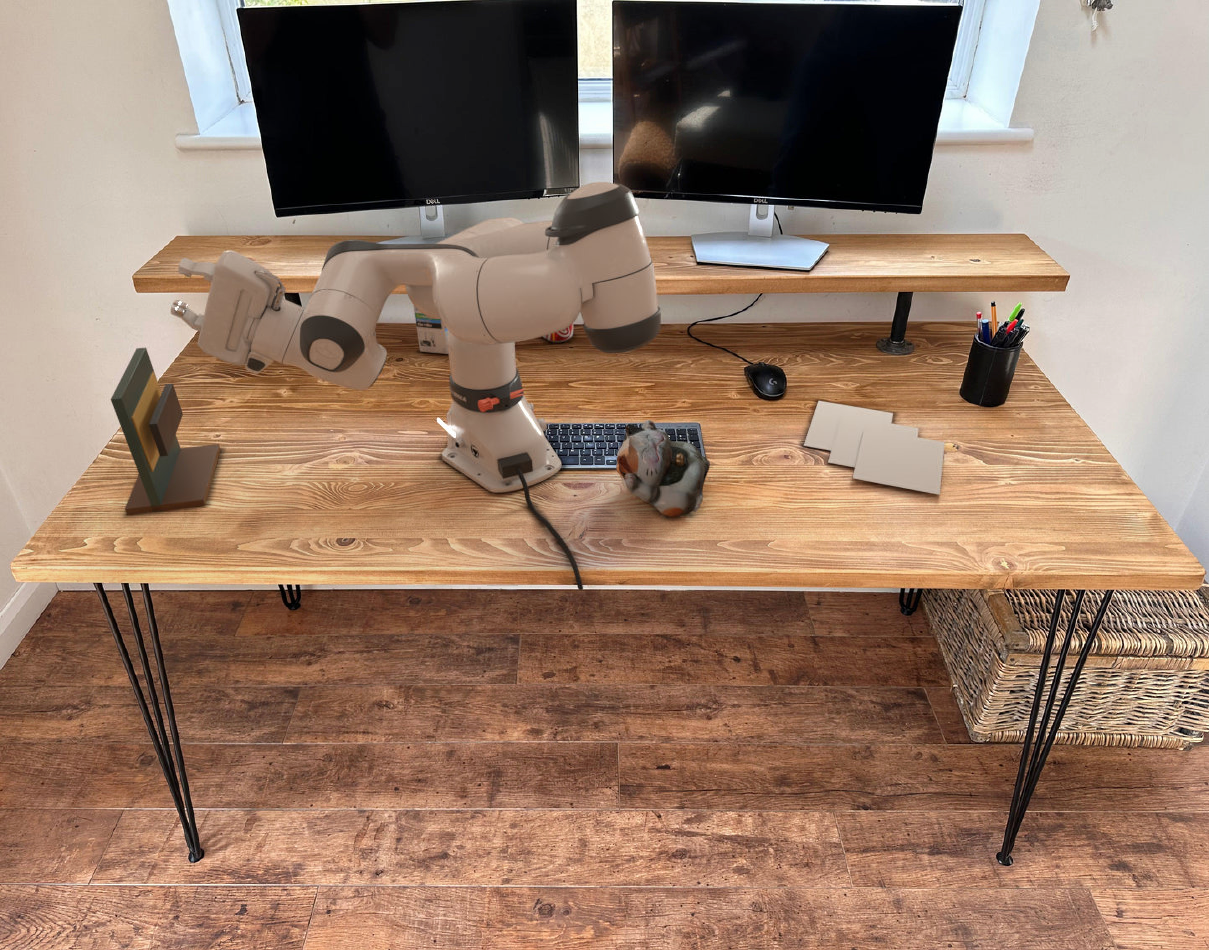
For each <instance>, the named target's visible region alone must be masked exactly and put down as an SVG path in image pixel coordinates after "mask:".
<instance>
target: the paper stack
mask: <svg viewBox="0 0 1209 950" xmlns="http://www.w3.org/2000/svg"><path fill="white" fill-rule="evenodd" d="M893 416H894V413H893V412H890V411H889V412H888V411H882V410H876V409H870V408H864V407H860V406H854V405H853V406H852V405H847V404H841V403H836V402H835V403H834V402H828V401H823V400H818V401H817V404H816V407H815V410H814V413H813V416H812V419H811V422H810V425H809V428H808V431H807V434H806V437H805V440H804V442H803V443H804V444H803V446H804V447H809V448H815V449H820V450H826V451H830V454H829V457H828V461H827V463H829V464H834V465H840V466H845V467H851V468H854V470H853V474H852V479H855V480H859V481H865V482H871V483H876V484H881V485H886V486H892V487H897V488H903V489H908V490H913V491H917V492H923V493H929V494H932V495H933V494H934V495H939V496H940V495H941V487H942V474H943V464H944V456H945V455H944V454H945V444H946V443H945V441H941V440H935V439H930V438H924V437H919V430H920V428H919V427H914V426H909V425H902V424H897V423H893Z"/></svg>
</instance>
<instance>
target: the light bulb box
mask: <svg viewBox="0 0 1209 950" xmlns="http://www.w3.org/2000/svg"><path fill="white" fill-rule="evenodd" d="M412 305H413V304H412ZM413 312H414V318H415V325H416V333H417V339H418V346H419V347H418V348H419V352H421V353H422V352H423V353H432V354H441V355H442V354H443V355H449V353H448V344H447V334H448V329H447V328H446V327H445V325H444V324H443V322H442V321H441V319H433V318H430V317H428V316H426V315H424V314H423V313H421V312H420V311H419V310H418V309H417V308H416V307H415V306H414V305H413Z"/></svg>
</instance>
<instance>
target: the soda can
mask: <svg viewBox="0 0 1209 950" xmlns="http://www.w3.org/2000/svg"><path fill="white" fill-rule="evenodd" d="M573 336H574V323H573V324H572V325H570V326H569V327H568V328H566V329H563V330H561V331H558V332H555V333H552V334H549V335H545V336H542V337H543V339H545V340H547V341H548V342H551V343H563V342H566V341H568V340H569V339H571V338H572V337H573Z"/></svg>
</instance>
